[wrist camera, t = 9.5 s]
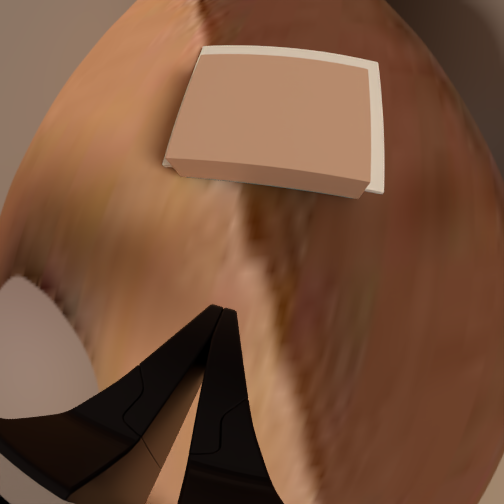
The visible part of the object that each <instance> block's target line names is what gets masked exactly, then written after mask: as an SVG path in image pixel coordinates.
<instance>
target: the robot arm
mask: <svg viewBox="0 0 504 504" xmlns="http://www.w3.org/2000/svg"><path fill="white" fill-rule="evenodd" d="M139 365H140V366H139ZM139 365H137V366H136V367H135V368H134V369H133V370H131V371H130V372H129V373H128V374H126V375H125V376H124V377H122V378H121V379H120V380H118V381H117V382H115V383H114V384H112V385H111V386H109V387H108V388H106V389H105V390H103V391H102V392H100V393H98V394H97V395H95V396H93V397H92V398H90V399H89V400H87V401H85V402H83V403H82V404H80V405H78V406H77V407H75V408H73V409H71V410H69V411H66V412H64V413H60V414H54V415H47V416H39V417H30V418H19V419H2V418H0V504H145V503H146V501H147V498H148V496H149V494H150V492H151V490H152V488H153V486H154V484H155V482H156V480H157V477H158V475H159V473H160V471H161V469H162V467H163V465H164V463H165V460H166V458H167V456H168V454H169V452H170V450H171V448H172V446H173V443H174V441H175V439H176V437H177V435H178V433H179V431H180V428H181V426H182V424H183V422H184V420H185V418H186V416H187V413H188V411H189V409H190V407H191V405H192V403H193V400H194V398H195V396H196V394H197V392H198V390H199V387H200V385H201V383H202V387H201V392H200V397H199V402H198V407H197V412H196V418H195V423H194V428H193V434H192V439H191V445H190V450H189V456H188V461H187V466H186V471H185V476H184V480H183V484H182V488H181V492H180V496H179V500H178V504H284V503H283V502H282V500H281V499H280V497H279V495H278V494H277V492H276V490H275V488H274V486H273V484H272V482H271V480H270V477H269V474H268V472H267V469H266V466H265V463H264V460H263V457H262V454H261V451H260V448H259V445H258V441H257V438H256V434H255V431H254V427H253V423H252V417H251V412H250V406H249V400H248V393H247V386H246V379H245V372H244V365H243V357H242V350H241V343H240V335H239V327H238V320H237V312H236V311H235V310H232V309H228V308H224V309H223V307H221V306H217V305H213V304H212V305H210V306H208V307H207V308H206V309H205V310H204V311H202V312H201V313H200V314H199V315H198V316H197V317H195V318H194V319H193V320H192V321H191V322H189V323H188V324H187V325H186V326H185V327H183V328H182V329H181V330H180V331H179V332H177V333H176V334H175V335H174V336H173V337H171V338H170V339H169V340H168V341H167V342H165V343H164V344H163V345H162V346H161V347H159V348H158V349H157V350H156V351H155V352H153V353H152V354H151V355H150V356H148V357H147V358H146V359H145V360H144V361H142V362H141V363H140V364H139Z"/></svg>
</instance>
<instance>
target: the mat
mask: <svg viewBox="0 0 504 504" xmlns="http://www.w3.org/2000/svg"><path fill="white" fill-rule="evenodd" d="M204 54H254V55H273V56H286V57H296V58H305V59H313V60H321V61H327V62H334V63H339V64H345V65H350V66H355V67H360V68H365V69H368V76H369V91H370V111H371V181H370V184H369V185H368V186H367V188H366V189H365V190H364V191H367V192H373V193H378V194H383V193H384V130H383V111H382V97H381V86H380V76H379V67H378V62H373V61H369V60H365V59H360V58H355V57H350V56H345V55H339V54H333V53H327V52H320V51H312V50H304V49H294V48H283V47H268V46H203V48H202V51H201V53H200V56H201V55H204ZM200 56H199V58H200ZM199 58H198V60H199ZM197 63H198V61H197ZM197 63H196V65H197ZM196 65H195V68H196ZM195 68H194V71H195ZM194 71H193V73H194ZM193 73H192V76H193ZM192 76H191V78H192ZM191 78H190V81H191ZM190 81H189V84H190ZM189 84H188V86H189ZM188 86H187V89H188ZM187 89H186V92H187ZM186 92H185V95H186ZM185 95H184V97H183V100H184V98H185ZM183 100H182V103H183ZM182 103H181V106H182ZM181 106H180V109H181ZM180 109H179V112H180ZM179 112H178V115H179ZM178 115H177V118H178ZM177 118H176V121H177ZM176 121H175V124H176ZM175 124H174V127H175ZM174 127H173V130H174ZM173 130H172V133H173ZM172 133H171V136H170V139H169V143H170V140H171V137H172ZM169 143H168V146H169ZM168 146H167V149H166V153H167V150H168ZM166 153H165V156H164V160H163V163H162V165H163V166H164V167H172V166H171V164H170V163H169V162H168V161H167V160H166V159H165V157H166Z"/></svg>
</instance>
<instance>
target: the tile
mask: <svg viewBox="0 0 504 504" xmlns="http://www.w3.org/2000/svg"><path fill="white" fill-rule="evenodd" d="M165 159H166V160H167V161H168V162H169V163H170V164H171V166H172V167H173V168H174V169H175V170H176V171H177V173H178V174H179V175H180V176H182V177H190V178H202V179H213V180H223V181H233V182H242V183H251V184H259V185H267V186H275V187H283V188H290V189H297V190H304V191H311V192H317V193H324V194H330V195H336V196H342V197H348V198H355V199H358V198H359V197H360V196H361V194H362V193H363V192H364V190H365V189H366V188H367V186H368V185H369V184H370V181H371V111H370V91H369V76H368V69H365V68H360V67H355V66H350V65H345V64H339V63H334V62H327V61H321V60H313V59H305V58H296V57H286V56H273V55H254V54H204V55H201V56H200V58H199V60H198V63H197V65H196V68H195V71H194V73H193V76H192V78H191V81H190V84H189V86H188V89H187V92H186V95H185V98H184V100H183V103H182V106H181V109H180V112H179V115H178V118H177V121H176V124H175V127H174V130H173V133H172V137H171V140H170V143H169V146H168V150H167V153H166V157H165Z"/></svg>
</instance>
